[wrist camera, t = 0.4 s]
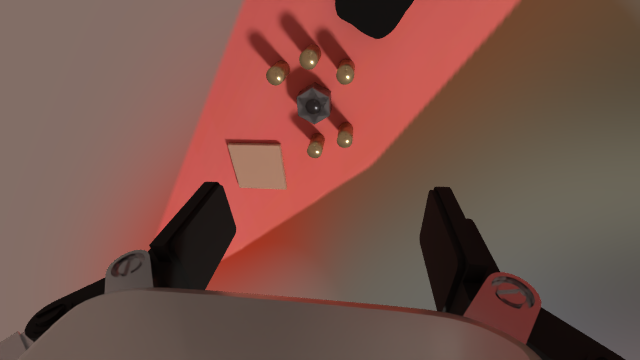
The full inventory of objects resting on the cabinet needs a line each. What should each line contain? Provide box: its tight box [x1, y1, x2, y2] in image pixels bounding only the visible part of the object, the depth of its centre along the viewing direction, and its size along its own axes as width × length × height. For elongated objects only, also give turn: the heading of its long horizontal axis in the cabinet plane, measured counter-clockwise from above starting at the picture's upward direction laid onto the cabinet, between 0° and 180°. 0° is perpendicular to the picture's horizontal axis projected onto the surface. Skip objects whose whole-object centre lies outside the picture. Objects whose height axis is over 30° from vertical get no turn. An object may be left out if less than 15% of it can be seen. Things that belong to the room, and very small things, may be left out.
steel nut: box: [297, 83, 331, 124], centre depth 42 cm, size 6×5×3 cm
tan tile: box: [228, 143, 287, 189], centre depth 51 cm, size 10×10×1 cm
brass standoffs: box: [266, 45, 355, 158], centre depth 41 cm, size 16×12×4 cm
